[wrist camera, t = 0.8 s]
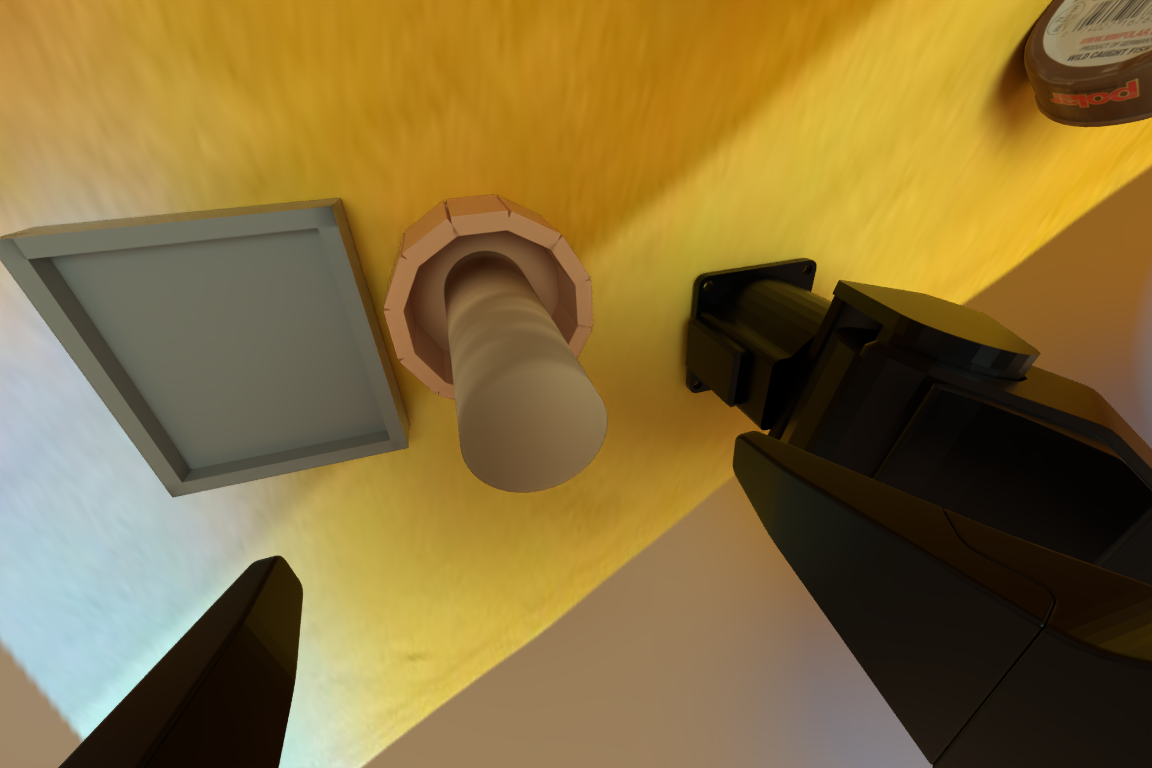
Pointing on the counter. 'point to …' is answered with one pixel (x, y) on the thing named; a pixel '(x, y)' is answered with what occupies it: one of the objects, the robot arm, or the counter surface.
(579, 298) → the terracotta faceted bowl
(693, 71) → the counter surface
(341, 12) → the counter surface
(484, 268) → the pin
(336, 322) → the tray
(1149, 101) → the tin
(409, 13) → the counter surface
